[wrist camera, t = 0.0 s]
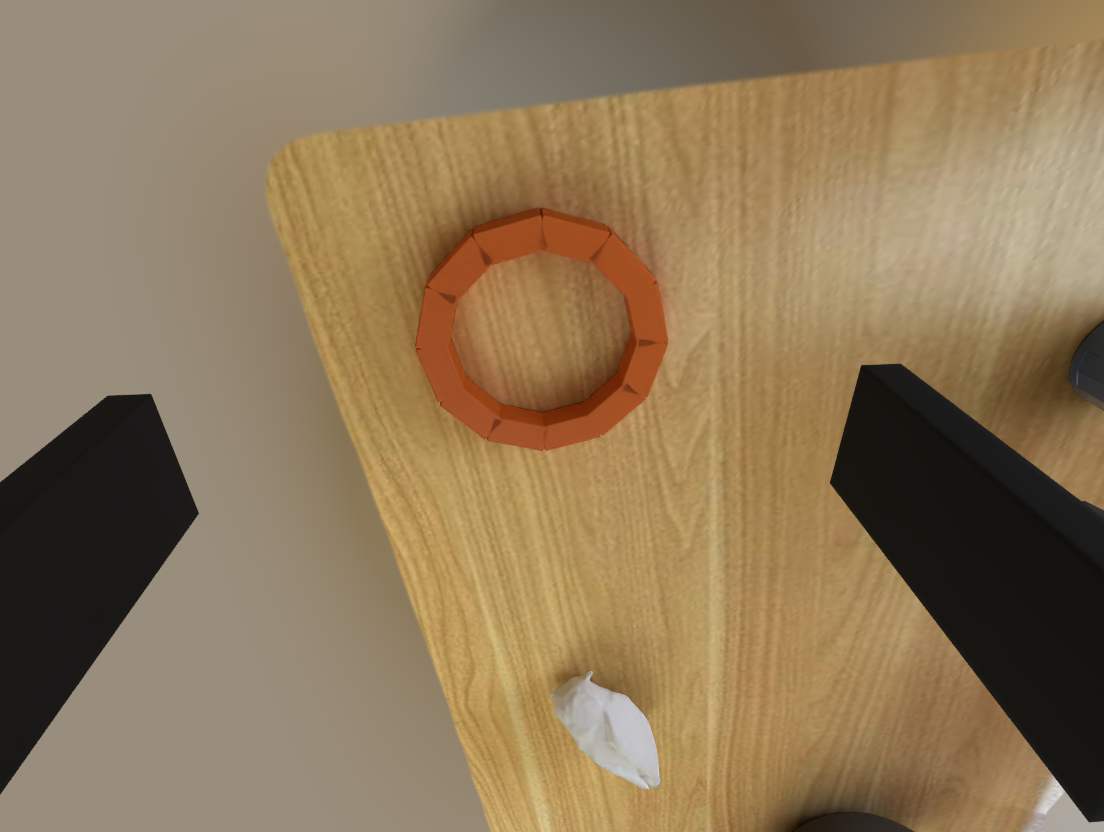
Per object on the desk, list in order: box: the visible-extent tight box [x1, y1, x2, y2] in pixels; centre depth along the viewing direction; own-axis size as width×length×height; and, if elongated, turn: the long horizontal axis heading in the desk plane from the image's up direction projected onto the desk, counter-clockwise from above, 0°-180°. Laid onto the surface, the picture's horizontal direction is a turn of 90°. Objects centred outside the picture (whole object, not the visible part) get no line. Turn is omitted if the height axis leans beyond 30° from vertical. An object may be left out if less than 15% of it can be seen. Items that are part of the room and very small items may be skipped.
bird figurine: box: [549, 671, 661, 790], centre depth 45 cm, size 5×7×10 cm
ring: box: [415, 208, 668, 451], centre depth 31 cm, size 12×12×2 cm
